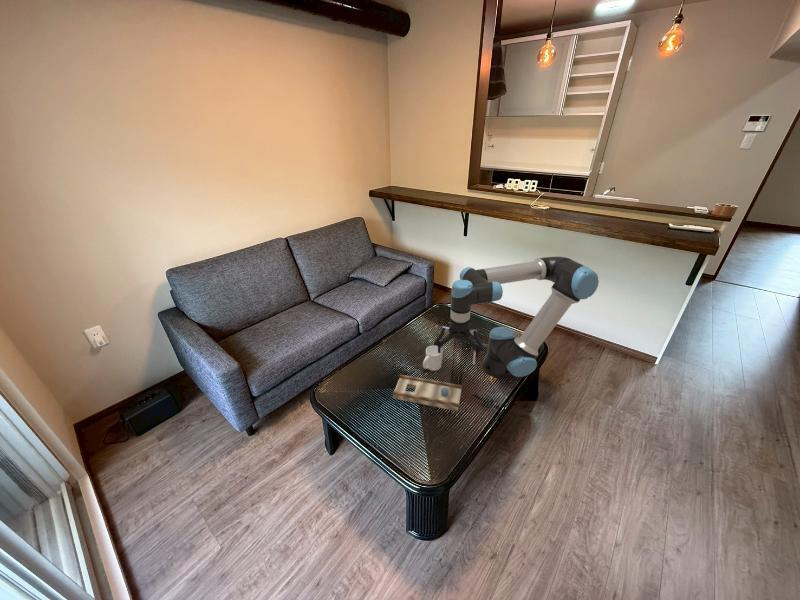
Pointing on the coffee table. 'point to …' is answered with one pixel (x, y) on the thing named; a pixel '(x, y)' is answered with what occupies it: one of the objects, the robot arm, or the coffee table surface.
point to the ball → (444, 391)
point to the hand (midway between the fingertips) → (457, 360)
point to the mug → (432, 359)
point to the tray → (428, 392)
